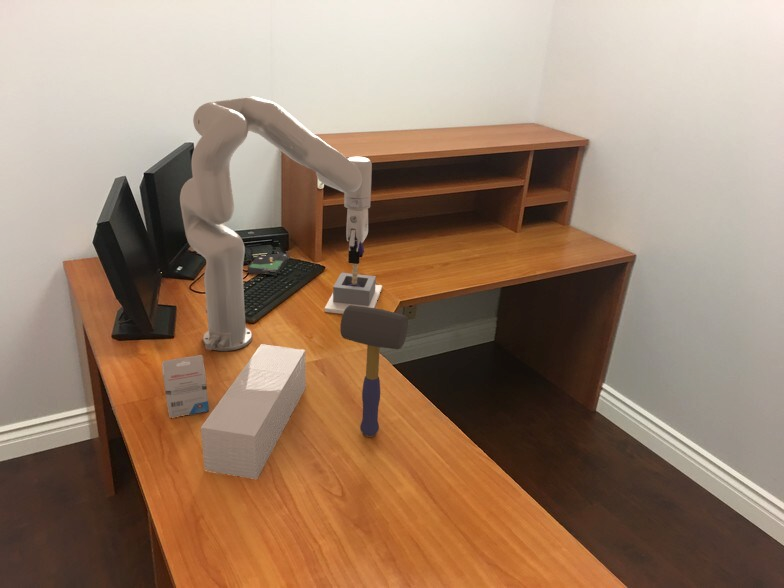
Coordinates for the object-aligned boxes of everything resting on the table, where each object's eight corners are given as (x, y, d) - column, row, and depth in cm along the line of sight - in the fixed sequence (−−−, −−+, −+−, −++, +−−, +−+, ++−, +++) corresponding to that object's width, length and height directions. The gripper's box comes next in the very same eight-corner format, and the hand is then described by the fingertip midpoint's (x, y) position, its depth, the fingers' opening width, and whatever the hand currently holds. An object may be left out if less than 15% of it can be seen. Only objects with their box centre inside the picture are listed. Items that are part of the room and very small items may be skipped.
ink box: (206, 399, 142) (200, 343, 136) (209, 411, 138) (204, 355, 132) (166, 406, 139) (159, 350, 133) (169, 419, 135) (161, 361, 128)
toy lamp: (364, 288, 192) (366, 237, 185) (359, 294, 188) (361, 243, 181) (349, 286, 193) (351, 235, 186) (344, 292, 189) (346, 240, 182)
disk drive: (261, 258, 219) (247, 274, 206) (261, 250, 218) (247, 266, 205) (290, 261, 219) (277, 277, 205) (289, 253, 217) (277, 269, 204)
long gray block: (262, 382, 150) (261, 343, 145) (305, 388, 148) (305, 349, 144) (204, 472, 121) (200, 427, 117) (257, 480, 120) (254, 436, 115)
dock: (371, 317, 182) (371, 298, 180) (324, 311, 184) (324, 292, 181) (381, 288, 200) (382, 271, 198) (339, 284, 202) (339, 266, 199)
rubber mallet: (401, 430, 136) (411, 307, 123) (391, 451, 129) (400, 324, 116) (348, 417, 139) (351, 296, 126) (335, 437, 132) (338, 312, 119)
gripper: (364, 211, 170) (362, 272, 178) (375, 194, 186) (372, 251, 194) (338, 208, 171) (337, 269, 179) (350, 191, 186) (349, 248, 194)
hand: (355, 259), depth 186 cm, fingers closed on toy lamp, 4 cm apart
